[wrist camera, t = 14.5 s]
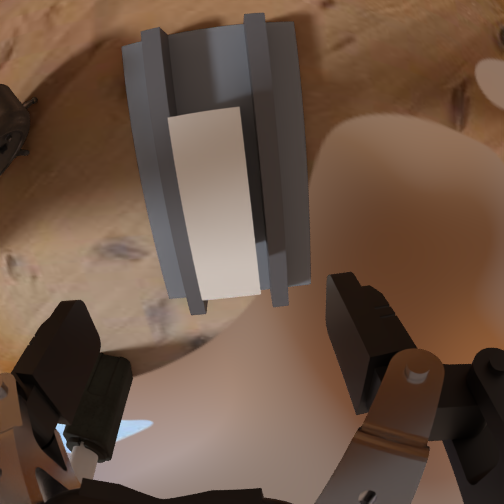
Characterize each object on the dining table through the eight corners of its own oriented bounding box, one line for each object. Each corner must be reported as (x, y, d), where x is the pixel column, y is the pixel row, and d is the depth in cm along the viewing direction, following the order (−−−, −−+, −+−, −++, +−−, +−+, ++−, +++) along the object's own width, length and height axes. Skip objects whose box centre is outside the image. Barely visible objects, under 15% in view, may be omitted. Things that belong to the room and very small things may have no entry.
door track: (171, 293, 32) (163, 317, 28) (125, 48, 21) (108, 40, 17) (308, 278, 31) (317, 301, 28) (291, 24, 21) (300, 11, 17)
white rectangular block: (210, 248, 28) (202, 300, 21) (188, 113, 23) (167, 117, 16) (254, 243, 28) (260, 294, 21) (239, 106, 23) (239, 106, 16)
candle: (129, 358, 36) (80, 547, 13) (133, 383, 38) (95, 554, 16) (93, 351, 35) (29, 527, 13) (99, 376, 37) (49, 538, 15)
